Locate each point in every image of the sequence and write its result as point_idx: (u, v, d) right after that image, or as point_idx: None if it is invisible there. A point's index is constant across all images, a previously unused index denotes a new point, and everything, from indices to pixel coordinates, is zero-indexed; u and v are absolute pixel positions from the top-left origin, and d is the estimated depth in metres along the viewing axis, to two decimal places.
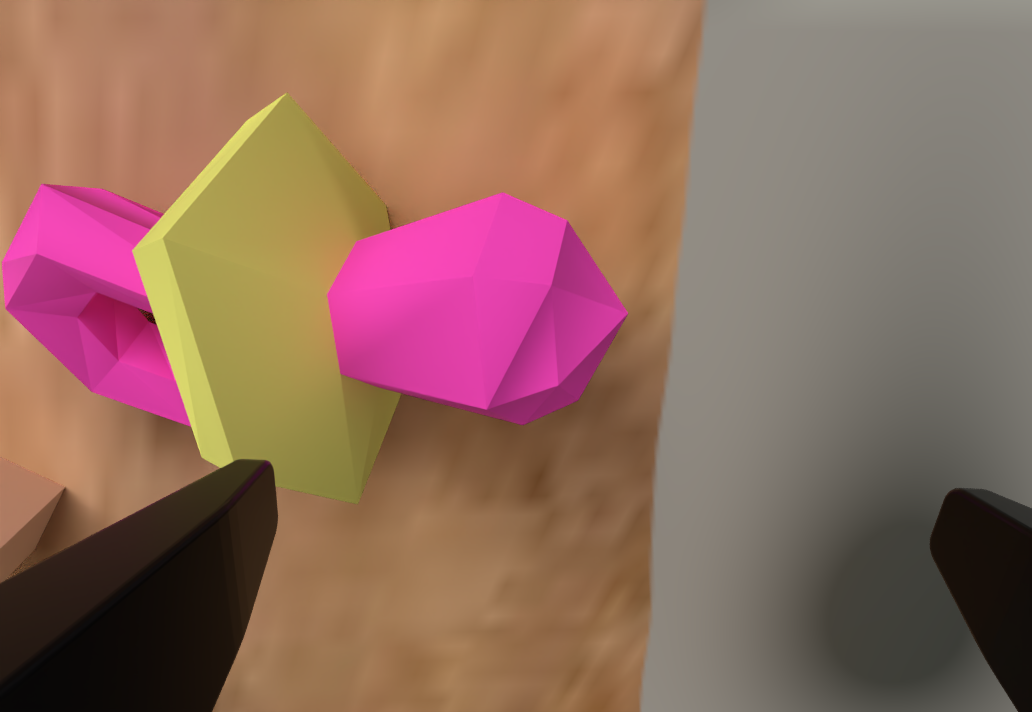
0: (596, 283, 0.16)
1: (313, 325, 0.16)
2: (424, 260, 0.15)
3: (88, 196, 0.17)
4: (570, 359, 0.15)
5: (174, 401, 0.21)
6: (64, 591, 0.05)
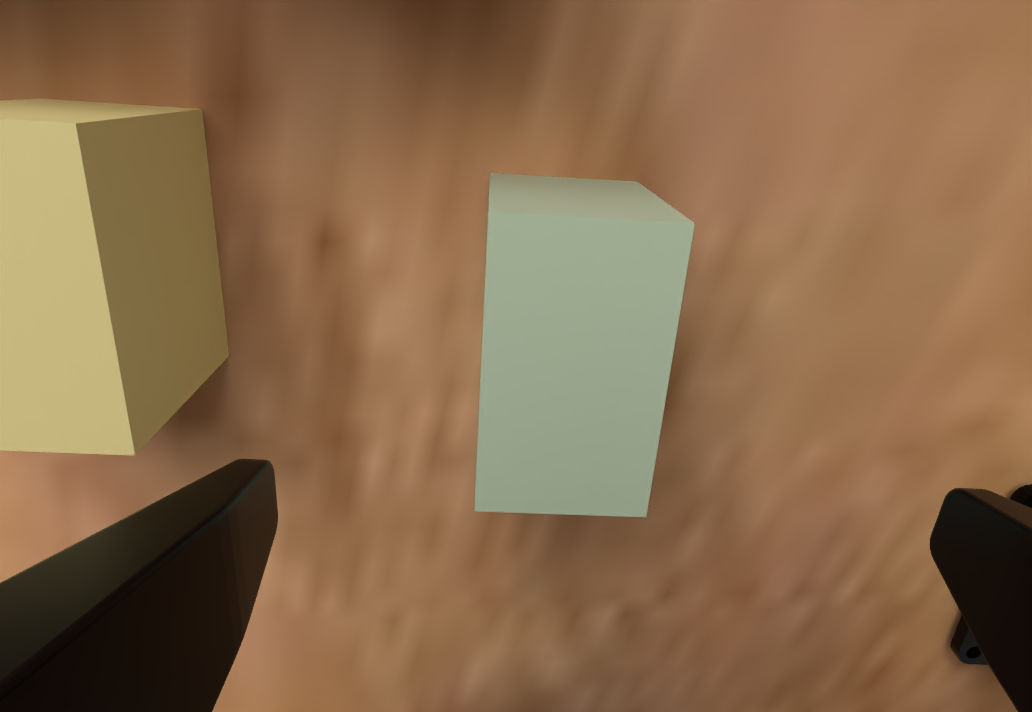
0: None
1: None
2: None
3: None
4: None
5: None
6: (64, 591, 0.05)
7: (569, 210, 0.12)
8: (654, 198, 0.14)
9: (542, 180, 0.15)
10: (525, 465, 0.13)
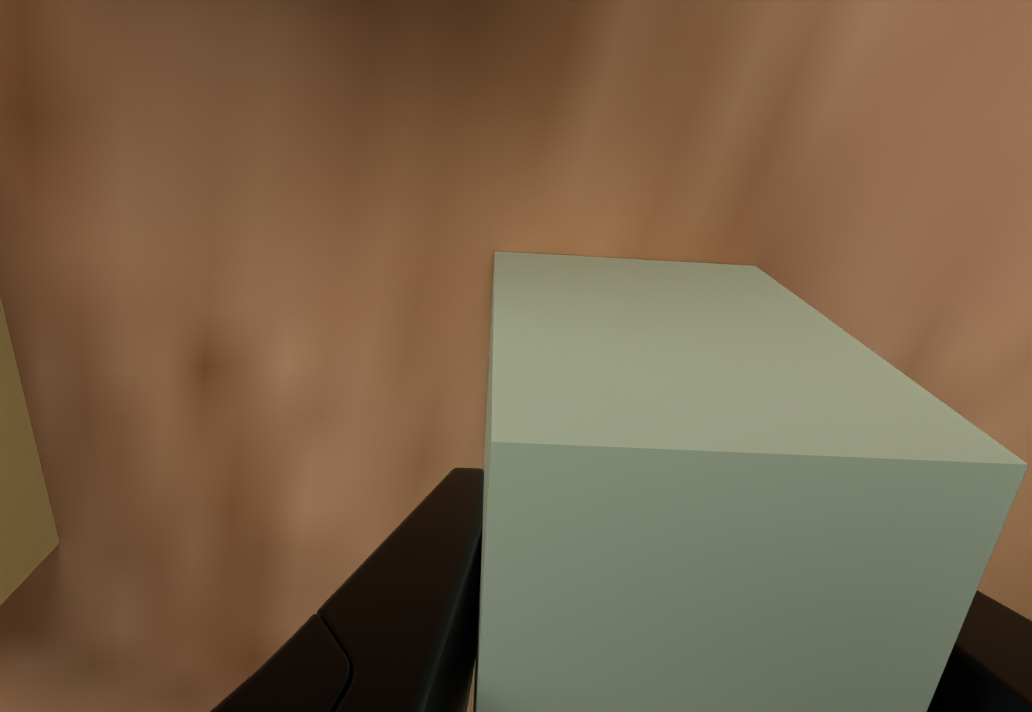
0: None
1: None
2: None
3: None
4: None
5: None
6: (403, 602, 0.05)
7: (691, 412, 0.05)
8: (833, 331, 0.07)
9: (592, 273, 0.08)
10: None
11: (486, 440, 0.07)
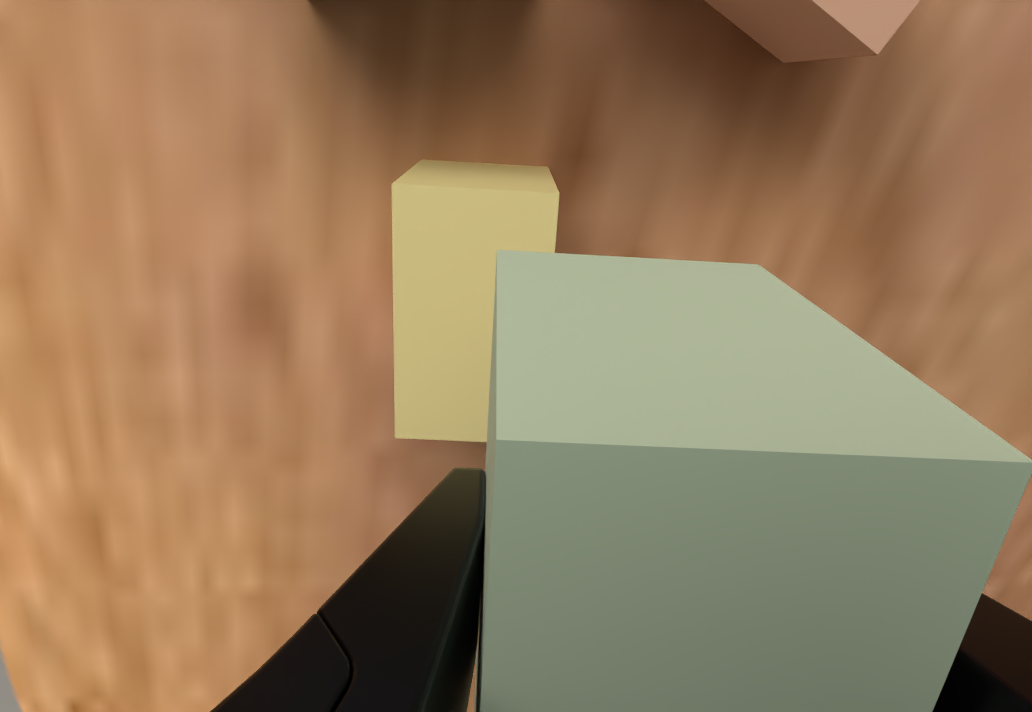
0: None
1: None
2: None
3: None
4: None
5: None
6: (403, 602, 0.05)
7: (696, 410, 0.05)
8: (837, 329, 0.07)
9: (594, 271, 0.08)
10: None
11: (489, 439, 0.07)
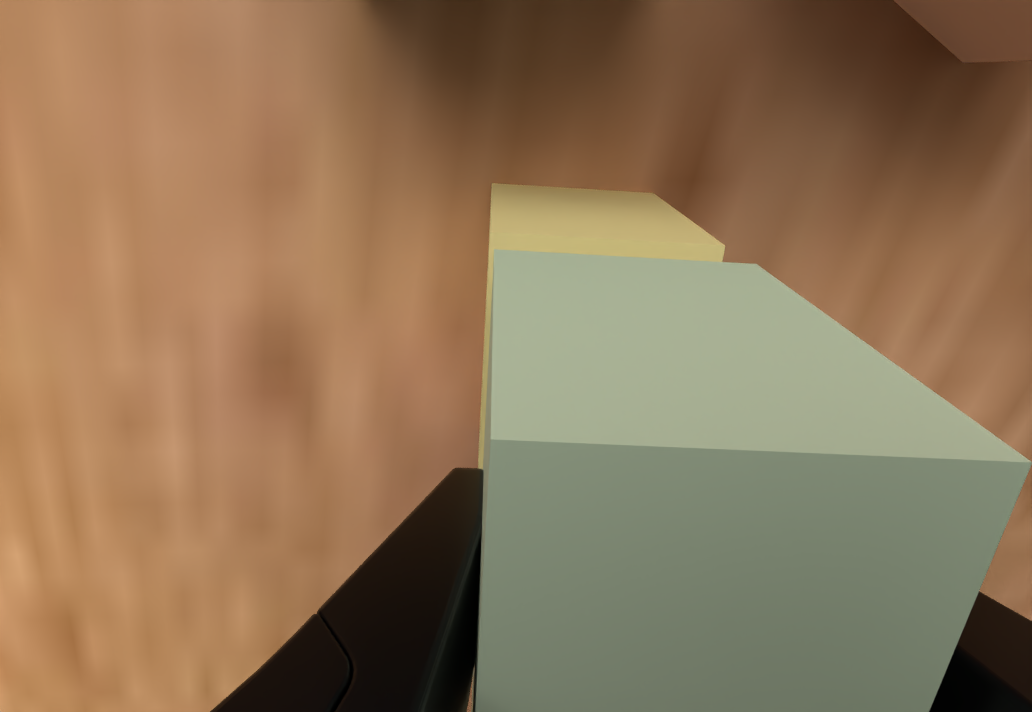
0: None
1: None
2: None
3: None
4: None
5: None
6: (403, 601, 0.05)
7: (691, 410, 0.05)
8: (834, 329, 0.07)
9: (591, 271, 0.08)
10: None
11: None
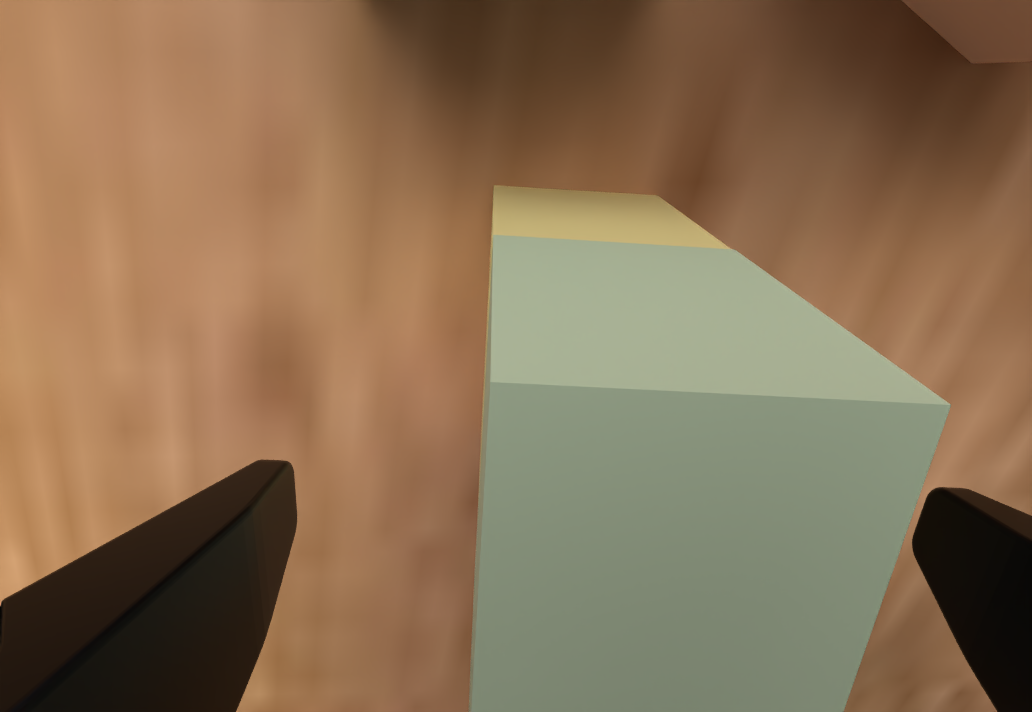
0: None
1: None
2: None
3: None
4: None
5: None
6: (96, 592, 0.05)
7: (664, 363, 0.05)
8: (798, 303, 0.07)
9: (582, 254, 0.09)
10: None
11: (485, 403, 0.08)
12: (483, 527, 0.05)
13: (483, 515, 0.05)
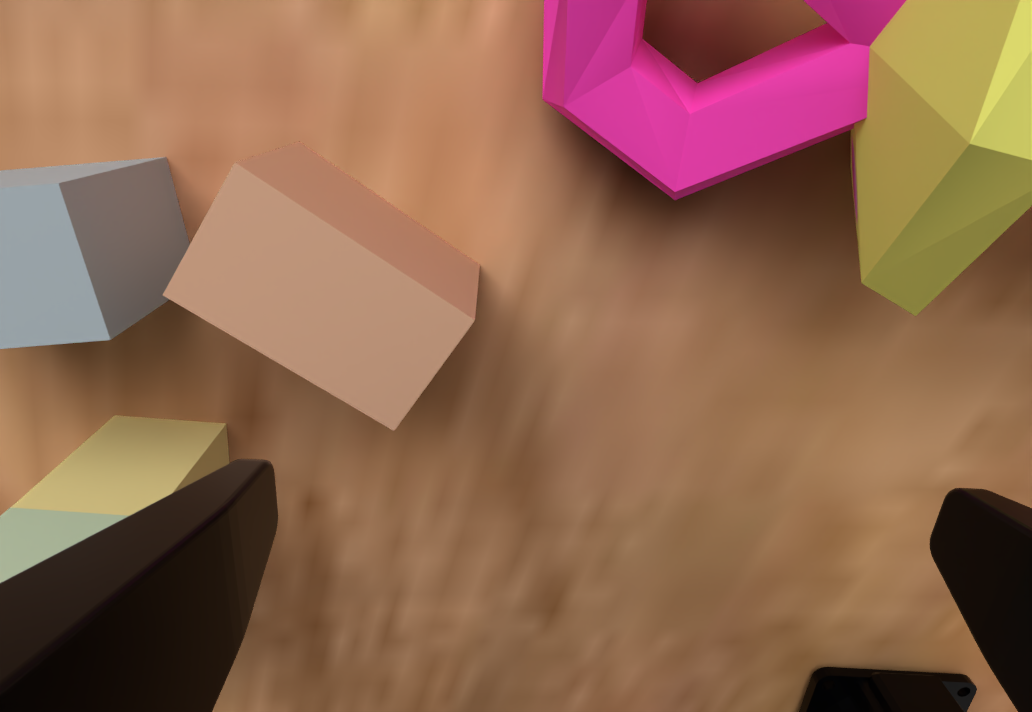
0: None
1: None
2: None
3: None
4: None
5: (669, 144, 0.16)
6: (64, 591, 0.05)
7: None
8: None
9: (38, 531, 0.16)
10: None
11: None
12: None
13: None
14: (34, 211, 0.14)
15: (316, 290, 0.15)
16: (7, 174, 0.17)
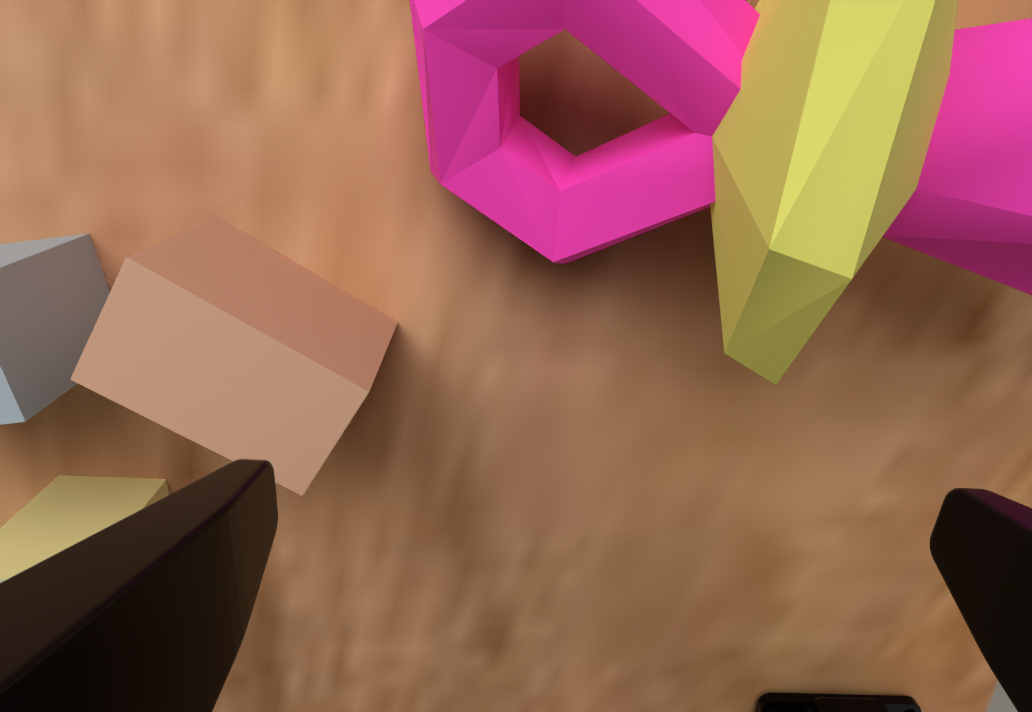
0: None
1: (934, 109, 0.12)
2: None
3: None
4: None
5: (543, 218, 0.17)
6: (64, 591, 0.05)
7: None
8: None
9: None
10: None
11: None
12: None
13: None
14: None
15: (215, 370, 0.16)
16: None
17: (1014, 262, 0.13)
